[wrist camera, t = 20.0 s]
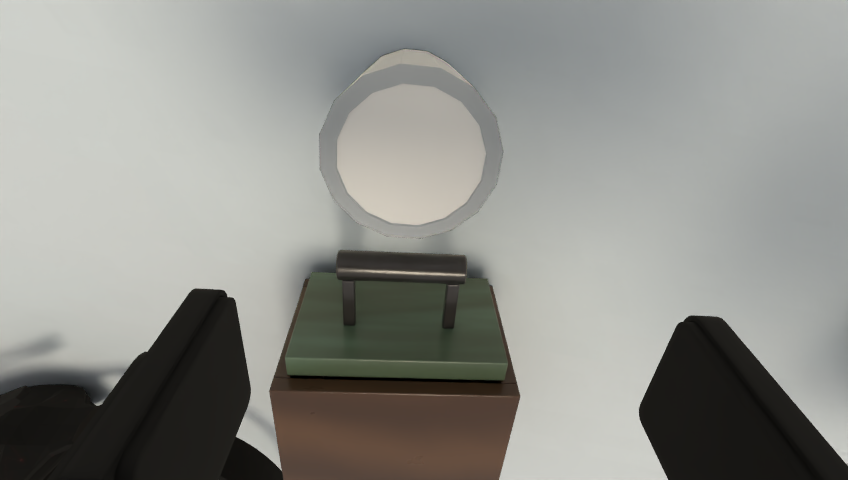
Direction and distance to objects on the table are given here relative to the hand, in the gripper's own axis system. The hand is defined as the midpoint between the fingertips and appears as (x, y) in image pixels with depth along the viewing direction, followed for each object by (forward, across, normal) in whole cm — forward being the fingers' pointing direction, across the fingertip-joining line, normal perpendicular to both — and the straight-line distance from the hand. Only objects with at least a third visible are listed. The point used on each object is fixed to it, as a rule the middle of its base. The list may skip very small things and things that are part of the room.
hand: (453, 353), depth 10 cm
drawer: (+15, +1, +13) cm, 20 cm away
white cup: (+16, +1, -1) cm, 16 cm away
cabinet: (+16, +1, +17) cm, 23 cm away
